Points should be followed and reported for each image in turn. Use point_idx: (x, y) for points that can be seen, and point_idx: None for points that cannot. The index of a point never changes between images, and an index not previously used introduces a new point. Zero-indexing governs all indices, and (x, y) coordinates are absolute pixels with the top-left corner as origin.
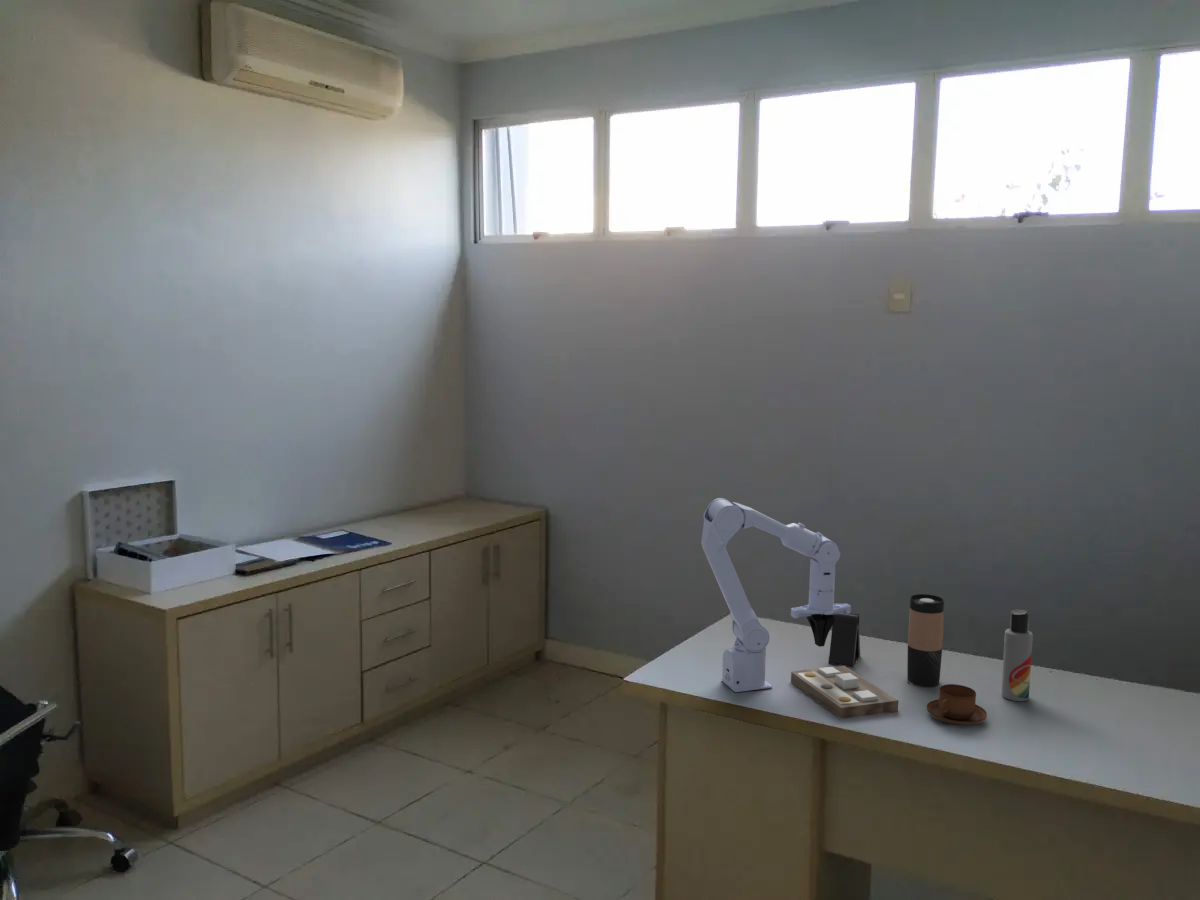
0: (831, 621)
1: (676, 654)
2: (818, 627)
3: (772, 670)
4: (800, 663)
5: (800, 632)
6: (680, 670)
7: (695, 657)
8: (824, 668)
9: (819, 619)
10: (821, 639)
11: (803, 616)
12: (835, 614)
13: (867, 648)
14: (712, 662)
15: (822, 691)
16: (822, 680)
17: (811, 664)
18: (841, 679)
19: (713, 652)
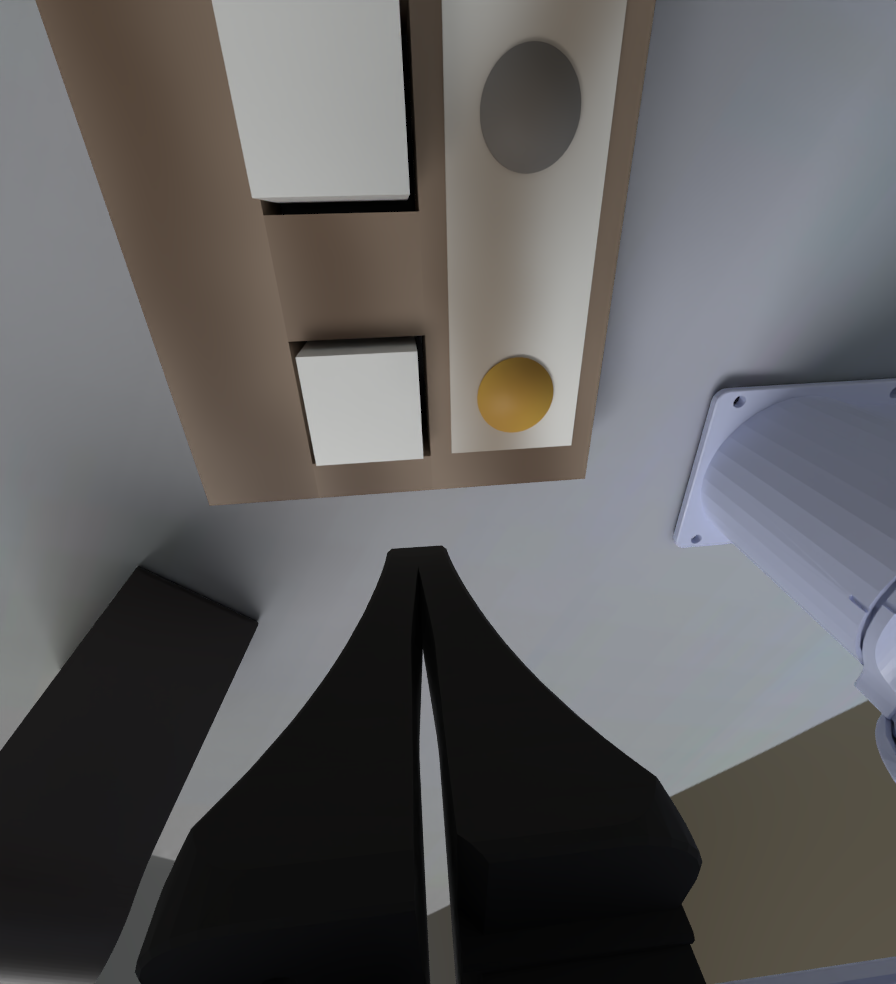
0: (292, 833)
1: (773, 738)
2: (553, 707)
3: (559, 588)
4: None
5: None
6: None
7: (739, 716)
8: (386, 445)
9: (579, 892)
10: (437, 586)
11: (865, 970)
12: (83, 967)
13: (3, 735)
14: (721, 679)
15: (627, 2)
16: (485, 275)
17: (348, 621)
18: (401, 54)
19: (654, 743)
